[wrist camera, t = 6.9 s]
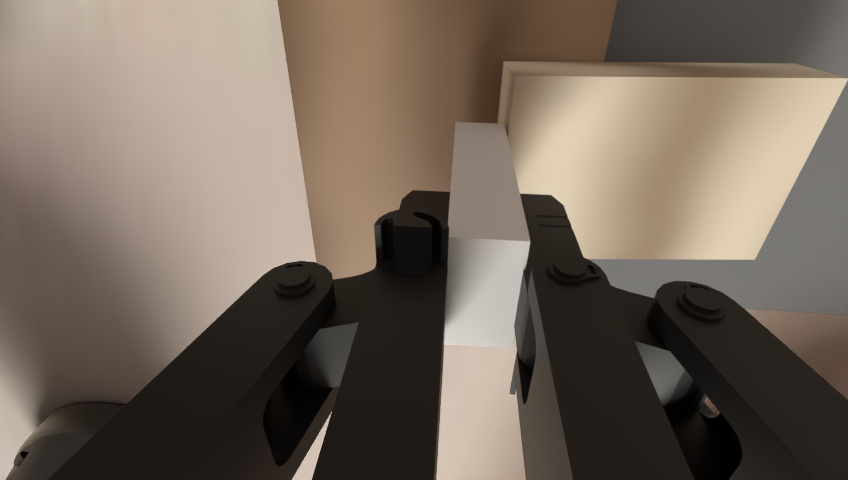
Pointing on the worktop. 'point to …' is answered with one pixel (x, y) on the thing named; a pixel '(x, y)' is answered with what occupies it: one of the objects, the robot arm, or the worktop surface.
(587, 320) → the robot arm
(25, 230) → the worktop surface
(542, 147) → the birch tile
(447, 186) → the walnut deck
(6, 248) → the worktop surface
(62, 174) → the worktop surface
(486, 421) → the worktop surface
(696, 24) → the rubber mat
